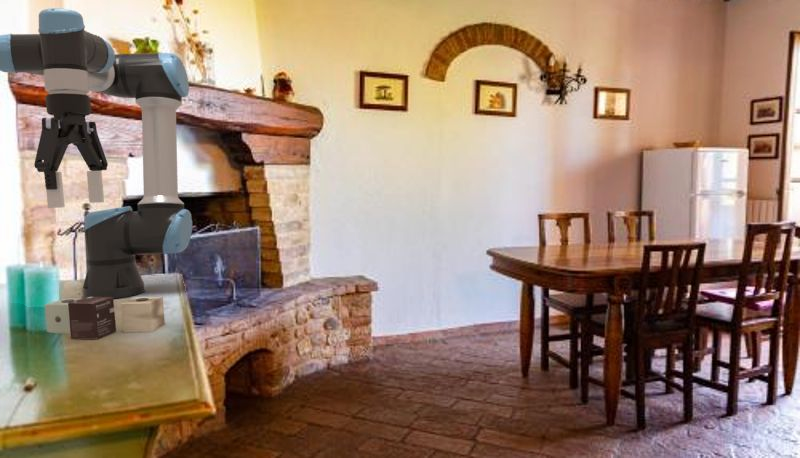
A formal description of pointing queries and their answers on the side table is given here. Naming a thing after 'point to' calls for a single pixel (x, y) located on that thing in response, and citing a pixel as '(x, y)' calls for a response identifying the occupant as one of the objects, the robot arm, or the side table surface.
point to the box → (91, 317)
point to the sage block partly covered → (58, 316)
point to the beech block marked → (142, 314)
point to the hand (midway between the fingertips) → (77, 205)
